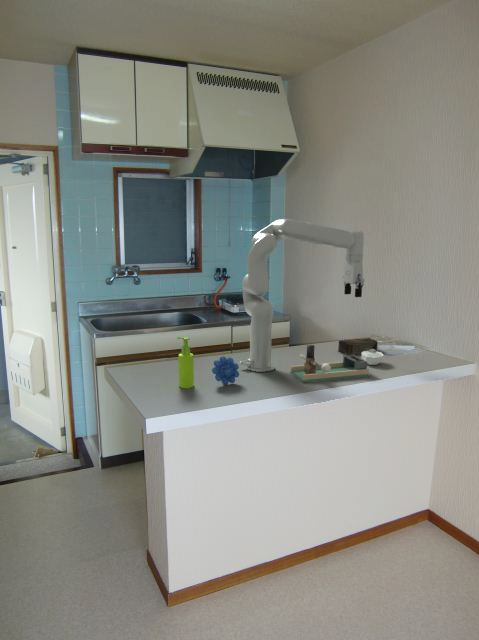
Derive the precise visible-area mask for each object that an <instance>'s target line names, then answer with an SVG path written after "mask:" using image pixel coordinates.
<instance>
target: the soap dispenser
mask: <svg viewBox="0 0 479 640" xmlns="http://www.w3.org/2000/svg"><path fill="white" fill-rule="evenodd" d="M176 339H177V340H183V344H182V345H181V353H178V387H179V388H180V387H181V389H191V387H192V388H193V386H195V381H194V380H195V379H194V378H195V376H194V372H195V370H194V369H195V368H194V362H195V361H194V354H193V353H191V345H190V344H189V341H190V340H191V338H190V337H188V336H178V337H176Z"/></svg>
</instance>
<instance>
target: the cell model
mask: <svg viewBox="0 0 479 640" xmlns="http://www.w3.org/2000/svg"><path fill="white" fill-rule="evenodd" d="M361 359H363V360H365V361H367V365H369V366H370V365H371V366H377V365H379V364H380V363H381V362H382V361H383V360H384V354H383V352H381V351H378V350H377V351H376V350H374V349H370V350H369V351H363V352H362V354H361Z"/></svg>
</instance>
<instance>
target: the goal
mask: <svg viewBox="0 0 479 640" xmlns="http://www.w3.org/2000/svg"><path fill="white" fill-rule="evenodd" d="M342 362H343V367H344V368H346V367H354V370H359V369H368V363H367V361H365V360H363V359H362V357H358V356H357V355H356V354H353V355H345V354H343V355H342Z"/></svg>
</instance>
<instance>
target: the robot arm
mask: <svg viewBox="0 0 479 640" xmlns="http://www.w3.org/2000/svg"><path fill="white" fill-rule="evenodd" d="M282 239H286V240H287V239H288V240H291V241H292V240H293V241H298V242H303V243H308V244H314V245H326V246H332V247H334V248H338V249H339V248H341V249H345V251H346V253H345V254H346V255H345V263H344V269H343V270H344V271H343V285H344V292H343V293H344V295H351V294H352V285H354V286H355V288H354V297H355V298H361V297H362V294H363V287H364V283H365V278H364V277H363V276H364V272H363V271H364V269H363V268H364V267H363V261H364V242H365V240H364V239H365V234H364V232H363V231H359V230H358V231H357V230H355V231H353V230H352V231H350V230H345V229H339V228H334V227H330V226H324V225H320V224H316V223H311V222H306V221H301V220H297V219H290V218H279V219H276V220H275V221H273V222H272V223H270V224H269V225H267V226H266V227H264V228H263V229H261V230H259V231H258V232H257V233H255V234H254V236H252V238H251V249H249V251H248V254H247V260H246V266H247V273H246V275H245V276H243V279H242V282H241V289H242V299H243V307H244V310H245V311H244V312H245V313H246V314H247V315H249V316H250V317H251V320H250V326H249V357H248V358H247V359H246V360H239V363H238V364H239V366H244V367H246V369H247V370H248V371H250V370H251V372H255V371H256V373H257V372H259V373H265V372H266V371H267V372H271V371H273V370H274V369H275V365H274V364H273V363H272V330H273V329H272V328H273V327H272V326H273V325H272V324H273V318H274V307H273V304H271V302H270V301H268V300H267V299H265V298H264V296H265V295H266V294H267V293H268V291H269V286H270V285H269V276H268V259H269V257H270V255H271V254H272V253H273V252H274V251H275V250H276V249H277V247H278V242H279V241H280V240H282Z"/></svg>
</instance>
